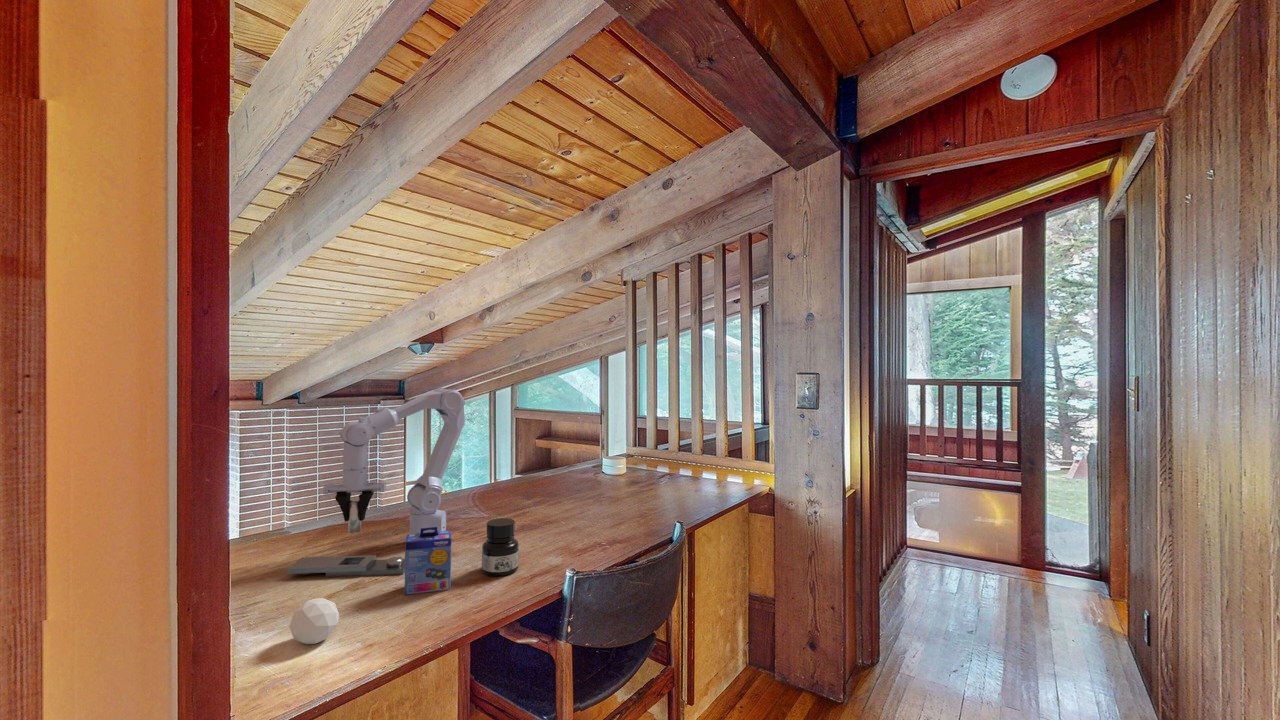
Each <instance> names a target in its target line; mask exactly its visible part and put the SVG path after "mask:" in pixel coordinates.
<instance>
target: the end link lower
mask: <svg viewBox="0 0 1280 720" xmlns="http://www.w3.org/2000/svg"><path fill="white" fill-rule="evenodd" d="M359 563H360V562H350V563H345V564H344V565H353V564H359ZM395 575H405V558H403V557H401V556H392V557H389V558H387V559H376V561H375V562H374V563H373V564H372V565H371V566H370V567H369V568H368V569H367V570H366V571H349V572H325V578H344V577H345V578H347V577H365V576H366V577H369V576H371V577H372V576H395Z"/></svg>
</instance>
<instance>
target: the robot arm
mask: <svg viewBox="0 0 1280 720" xmlns="http://www.w3.org/2000/svg"><path fill="white" fill-rule="evenodd" d="M465 404H466V401H465V398H464V397H463V396H462V393H461V392H459V391H458V390H456V389H446V388H442V387H438V388H436V389H434V390H430V391H427V392H425V393H423V394H421V395H418V396H417V397H414V398H413V399H411V400H409V401H407V402H405V403H403V404H401V405H400V406H397V407H395V408H393V409H391V408H388V407H385V408H382V407H379V408H377V409H375V412H374V413H372V414H369V415H367V416H365V417H364V416H361V417H359V418H358V419H357V420H358V421H351V422H347V423H346V424H344V426H343V427H342V429H341V432H339V435H340V439H341V440H342V441H343V450H342V451H343V452H342V483H338V484H337V483H336V484H326V485H324V486H323V487H322V490H323V491H322V494H323V495H329V494H336V495H335V497H334V498H335V501H336V502H337V504H338V506H339V508H340V509H341V512H342V516H343V521H344V522H345V523H346V522H348V501H350V500H351V497H352V493H359V495H358V499H359V501H360V521H361V522H363V521H364V520H365V519H366V514H367V510H368V507H369V504H370V502H371V500H372V497H373V495H374V493H376V492H378V493H379V492H380V493H385V492H386V490H387V483H386V482H368V474H369V473H368V472H369V470H368V468H369V467H368V466H369V465H368V463H369V461H368V459H369V458H368V457H369V450H368V443H369V442H370V440H371V439H372V438H375V437H377V436H379V435H381V434H382V433H385V432H387V431H389V430H391V429H394V428H395V427H397V424H398V422H399V421H400V420H402V419H404V418H407V417H408V416H411V415H414V414H416V413H418V412H421V411H423V410H426V409H428V410H436V411H437V412H438V414H439V415H440V417H441V418H442V419H441V420H442V421H443V425H442V428H441V430H440V433H439V435H438V437H437V440H436V442H435V445H434V446H433V449H432V452H431V455H430V456H429V460H428V461H427V464H426V467H425V469H424V471H423V474H422V475H420V476H419V477H418V478H417V480H416V481H415V483H414V484H413V486H412V487H411V488H410V489H409V490H408V492H407V496H406V499H407V502H408V504H409V505H410V510H409V534H416V533H420V532H421V528H429V527H437V530H438V531H447V513H446V510H440V509H438V508H439V507H440V506H441V503H442V492H443V489H444V487H443V482H442V480H443V477H444V474H445V472H446V470H447V467H448V465H449V462H450V460H451V457H452V455H453V452H454V450H455V448H456V445H457V442H458V440H459V438H460V435H461V432H462V431H463V428H464V425H465V422H466V419H465ZM433 531H435V530H426V531H423V532H433Z"/></svg>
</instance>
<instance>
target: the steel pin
mask: <svg viewBox="0 0 1280 720" xmlns="http://www.w3.org/2000/svg"><path fill="white" fill-rule="evenodd" d="M347 522H348V523H347V531H348V532H347V533H348V534H356V533H360V532H361V531H362V521H360V501H359V498H358V499H357V498H356V499H350V501H348V521H347Z"/></svg>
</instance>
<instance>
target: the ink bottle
mask: <svg viewBox="0 0 1280 720" xmlns="http://www.w3.org/2000/svg"><path fill="white" fill-rule="evenodd" d="M515 523H516V521H515V520H514V519H512V518H508V517H499V518H493V519H490V520H488V521H487V522H486V540H485V541H484V542H483V544H482V546H481V571H482V573H483V574H485V575H486V576H489V577H490V576H491V577H499V576H500V577H502V576H507V575H511V574H513V573H515V572H517V570H518V568H519V555H520V553H519V549H520V547H519V544H520V543H519V542H518V540H517V539H516V538H515V537H514V536H515V533H516V532H515V531H516V530H515V526H516V525H515Z"/></svg>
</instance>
